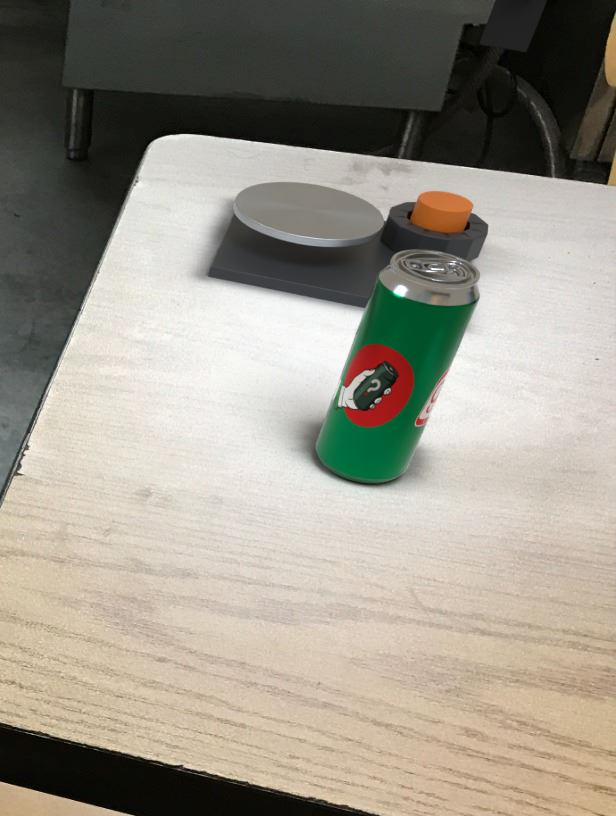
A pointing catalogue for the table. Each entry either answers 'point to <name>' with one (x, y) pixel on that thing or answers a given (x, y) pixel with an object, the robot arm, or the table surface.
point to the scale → (334, 257)
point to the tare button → (441, 211)
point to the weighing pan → (308, 214)
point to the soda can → (397, 364)
